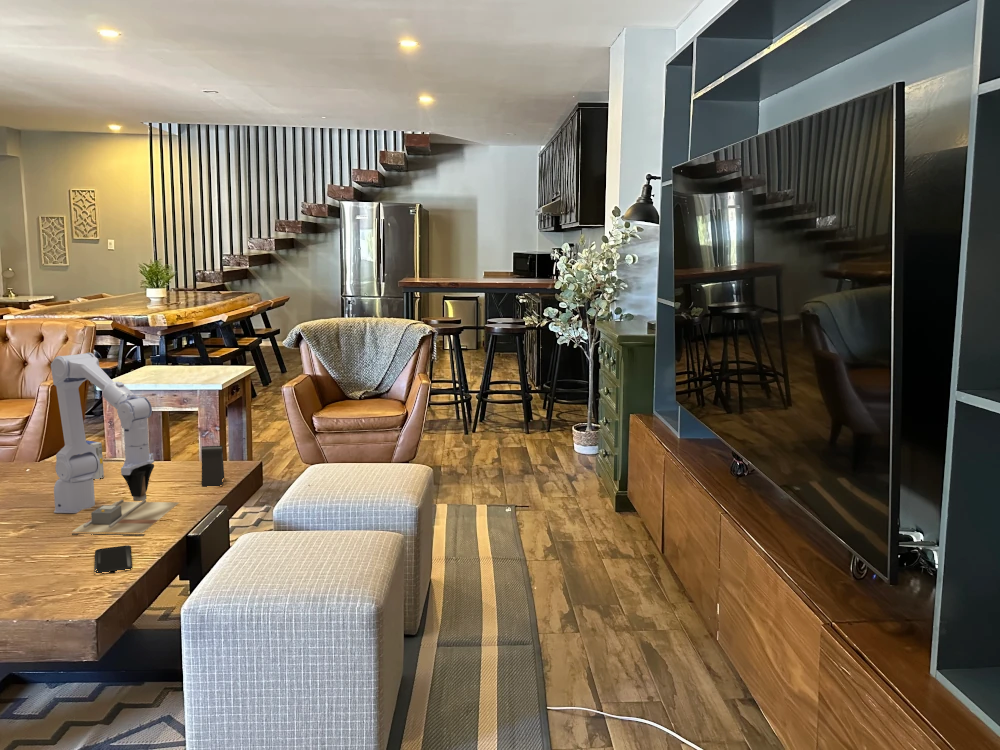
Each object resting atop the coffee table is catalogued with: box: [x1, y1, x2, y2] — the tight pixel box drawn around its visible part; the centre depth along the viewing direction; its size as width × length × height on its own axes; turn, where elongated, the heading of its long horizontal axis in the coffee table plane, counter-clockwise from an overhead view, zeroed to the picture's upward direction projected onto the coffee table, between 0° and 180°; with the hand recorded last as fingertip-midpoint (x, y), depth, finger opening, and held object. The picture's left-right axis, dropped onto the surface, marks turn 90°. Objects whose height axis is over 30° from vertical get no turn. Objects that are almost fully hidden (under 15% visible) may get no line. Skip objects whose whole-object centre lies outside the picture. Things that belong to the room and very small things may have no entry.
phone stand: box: [200, 445, 225, 488], centre depth 241 cm, size 9×6×12 cm, turn 14°
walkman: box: [78, 439, 105, 480], centre depth 244 cm, size 8×3×12 cm, turn 68°
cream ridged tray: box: [71, 499, 180, 537], centre depth 208 cm, size 18×24×2 cm
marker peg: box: [132, 476, 147, 502], centre depth 203 cm, size 3×3×6 cm
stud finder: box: [90, 505, 122, 524], centre depth 204 cm, size 5×6×4 cm
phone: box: [93, 544, 133, 573], centre depth 181 cm, size 8×1×15 cm
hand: (139, 494), depth 203 cm, fingers closed on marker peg, 3 cm apart
